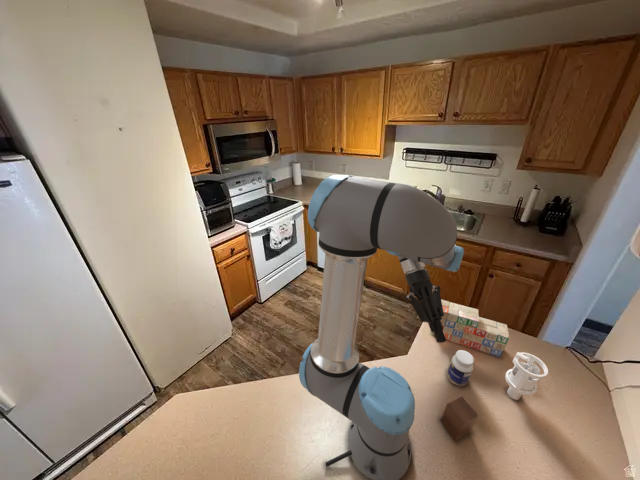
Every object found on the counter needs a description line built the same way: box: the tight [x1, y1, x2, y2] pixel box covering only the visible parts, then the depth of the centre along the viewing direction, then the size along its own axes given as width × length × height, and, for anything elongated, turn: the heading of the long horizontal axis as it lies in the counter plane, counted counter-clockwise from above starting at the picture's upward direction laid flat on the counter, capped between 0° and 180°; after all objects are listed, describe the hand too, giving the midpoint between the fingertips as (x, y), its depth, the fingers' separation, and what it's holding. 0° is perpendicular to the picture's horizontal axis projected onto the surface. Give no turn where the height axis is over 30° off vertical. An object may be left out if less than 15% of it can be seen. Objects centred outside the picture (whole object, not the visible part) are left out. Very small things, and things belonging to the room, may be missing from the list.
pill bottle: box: [446, 349, 475, 387], centre depth 77 cm, size 6×6×10 cm
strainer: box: [504, 351, 549, 401], centre depth 71 cm, size 7×7×15 cm
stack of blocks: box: [431, 299, 510, 358], centre depth 89 cm, size 21×6×12 cm, turn 62°
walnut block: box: [440, 396, 479, 441], centre depth 66 cm, size 5×5×8 cm
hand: (441, 341), depth 83 cm, fingers closed
